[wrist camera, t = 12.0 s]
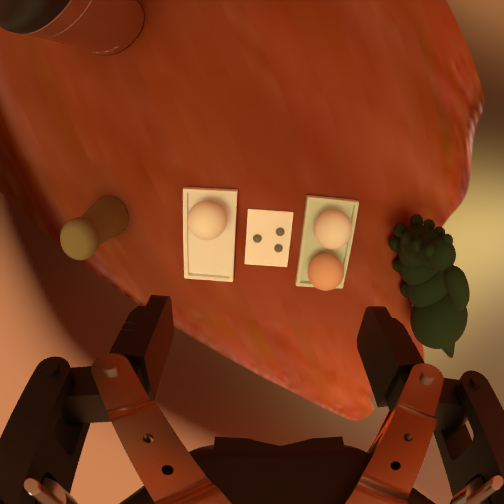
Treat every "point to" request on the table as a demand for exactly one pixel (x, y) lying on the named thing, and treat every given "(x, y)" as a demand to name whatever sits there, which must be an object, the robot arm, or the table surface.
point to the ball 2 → (333, 229)
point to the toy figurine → (431, 283)
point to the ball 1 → (206, 220)
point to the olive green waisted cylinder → (94, 227)
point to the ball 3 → (325, 272)
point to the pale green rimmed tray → (310, 243)
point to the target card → (268, 237)
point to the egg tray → (216, 250)
